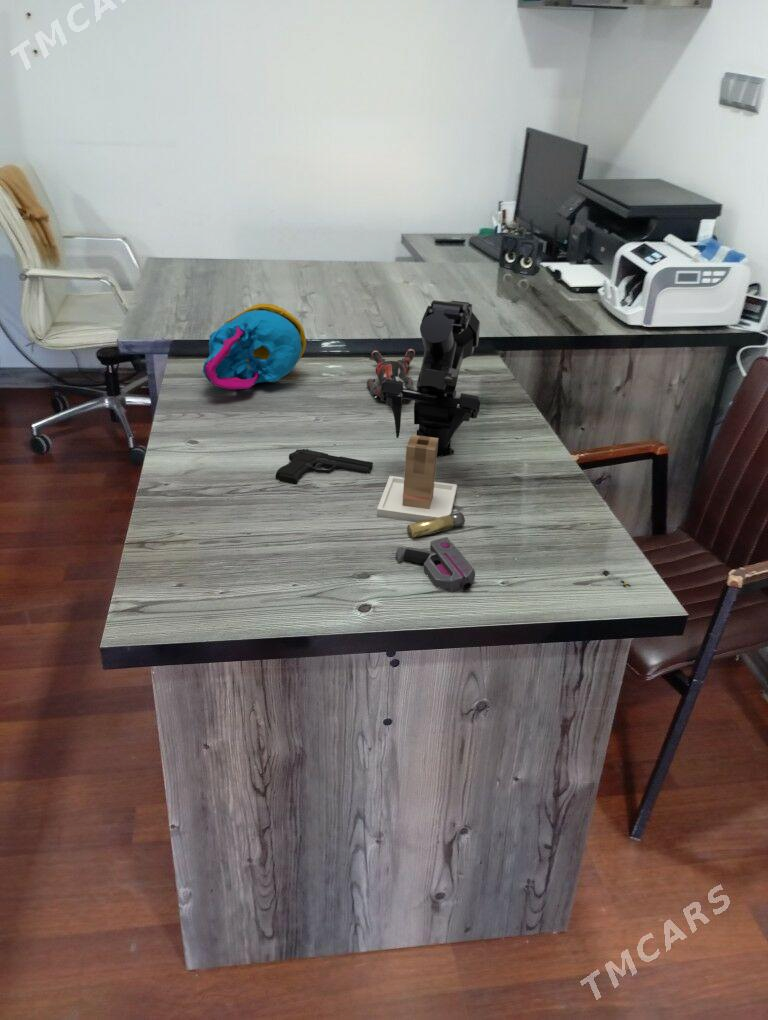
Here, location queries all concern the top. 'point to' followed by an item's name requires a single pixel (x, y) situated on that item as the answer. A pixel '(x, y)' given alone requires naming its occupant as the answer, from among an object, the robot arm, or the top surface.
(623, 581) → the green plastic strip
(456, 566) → the toy gun
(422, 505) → the brown tall hollow block
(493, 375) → the top surface
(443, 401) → the robot arm
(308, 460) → the handgun
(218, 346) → the anatomical model
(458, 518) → the bullet cartridge
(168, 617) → the top surface
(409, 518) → the tray
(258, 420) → the top surface
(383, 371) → the action figure
